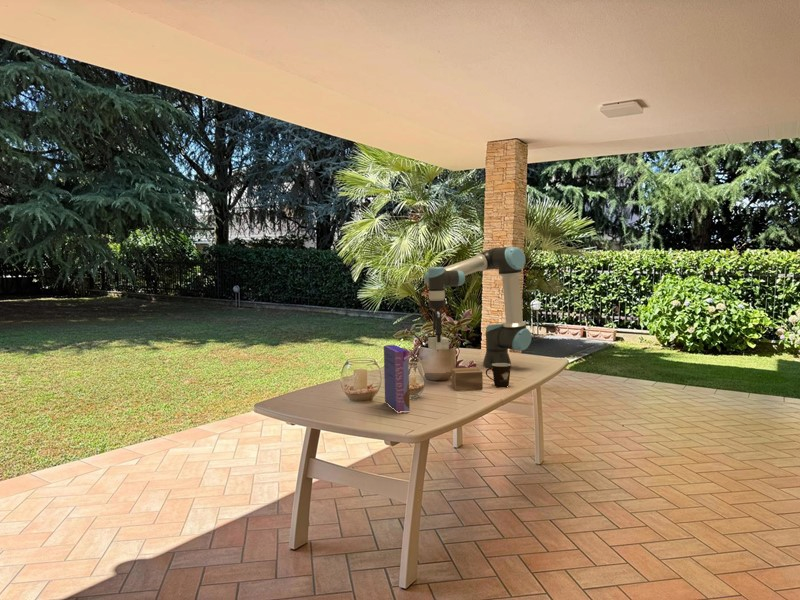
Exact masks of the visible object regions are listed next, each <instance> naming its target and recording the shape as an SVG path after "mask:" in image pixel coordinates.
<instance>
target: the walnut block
mask: <svg viewBox="0 0 800 600" xmlns="http://www.w3.org/2000/svg"><path fill="white" fill-rule="evenodd" d="M483 379H484V378H483V371H482V370H481V369H479V367H477V366H475V367H451V386H452V387H453V389H454V390H455V391H456V392H462V390H468V391H483V390H484V389H483V385H484V383H483V381H484V380H483ZM482 389H483V390H482Z"/></svg>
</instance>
